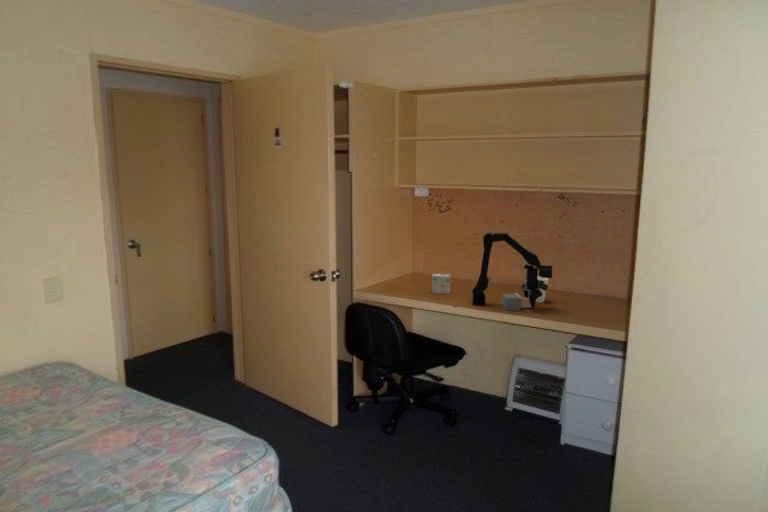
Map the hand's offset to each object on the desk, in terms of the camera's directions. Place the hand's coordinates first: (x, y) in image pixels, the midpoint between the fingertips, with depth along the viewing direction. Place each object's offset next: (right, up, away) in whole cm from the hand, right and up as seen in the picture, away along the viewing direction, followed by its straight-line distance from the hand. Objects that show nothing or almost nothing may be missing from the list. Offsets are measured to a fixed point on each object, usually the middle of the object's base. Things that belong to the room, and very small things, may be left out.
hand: (530, 305), depth 294 cm
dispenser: (-10, -1, 0) cm, 11 cm away
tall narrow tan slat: (-4, -1, 0) cm, 4 cm away
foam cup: (+8, +1, +14) cm, 16 cm away
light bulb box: (-44, +4, +34) cm, 56 cm away
